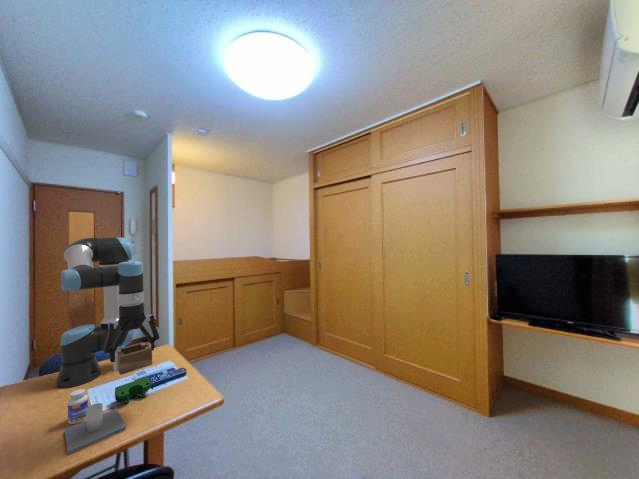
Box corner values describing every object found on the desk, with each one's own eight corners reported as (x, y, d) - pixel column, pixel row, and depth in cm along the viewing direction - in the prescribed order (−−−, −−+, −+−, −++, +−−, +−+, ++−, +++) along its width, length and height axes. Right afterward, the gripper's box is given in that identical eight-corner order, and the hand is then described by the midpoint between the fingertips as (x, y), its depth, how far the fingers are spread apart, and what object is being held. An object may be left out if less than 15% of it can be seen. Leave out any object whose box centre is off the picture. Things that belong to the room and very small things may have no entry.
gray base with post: (64, 431, 88) (64, 407, 88) (117, 411, 98) (116, 389, 98) (67, 455, 78) (67, 428, 78) (125, 429, 89) (124, 405, 89)
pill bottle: (71, 426, 90) (70, 398, 90) (65, 421, 93) (64, 393, 93) (91, 417, 95) (90, 390, 95) (85, 412, 98) (84, 386, 98)
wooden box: (114, 366, 97) (113, 349, 97) (144, 357, 104) (143, 341, 104) (120, 374, 91) (120, 357, 91) (152, 364, 98) (151, 348, 98)
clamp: (124, 415, 103) (113, 400, 99) (120, 405, 107) (109, 390, 103) (156, 391, 110) (148, 377, 106) (152, 383, 114) (143, 369, 110)
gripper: (94, 312, 86) (96, 381, 87) (168, 299, 103) (169, 357, 103) (90, 308, 91) (92, 373, 92) (161, 297, 108) (162, 351, 108)
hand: (133, 364), depth 97 cm, fingers closed on wooden box, 9 cm apart
